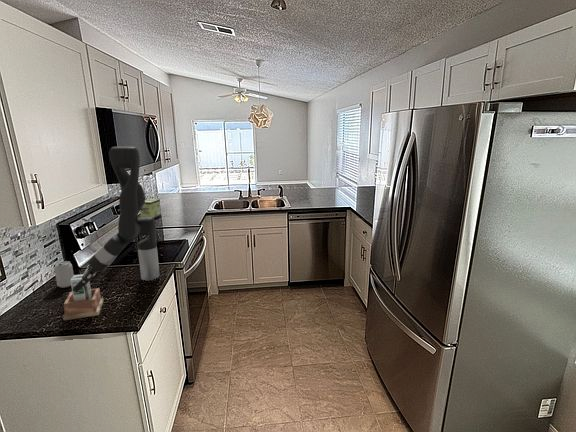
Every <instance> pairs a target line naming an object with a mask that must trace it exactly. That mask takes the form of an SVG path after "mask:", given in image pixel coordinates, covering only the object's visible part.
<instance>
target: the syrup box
mask: <svg viewBox="0 0 576 432" xmlns="http://www.w3.org/2000/svg"><path fill="white" fill-rule="evenodd" d="M83 275H84V273H83V274H74V276H73V277H72V279H71V286H70V287H71V292H73V298H74V301H81V300H88V299H92V294H91V289H92V288H91V282H90V281H91V280H90V281H89V282H88V283H87V284H86V285H85V287H82V288H81V289H80V290H79V291H78V292H75V291H73V288H74V287H75V286H76V285H77V284H78V283H79V281H80V280H81V277H82V276H83ZM84 277H85V276H84ZM82 282H83V283H85V281H82Z"/></svg>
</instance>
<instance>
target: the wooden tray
mask: <svg viewBox="0 0 576 432" xmlns="http://www.w3.org/2000/svg"><path fill="white" fill-rule="evenodd" d="M91 294H92V299H88V300H81V301H74V298H73V292H72V291H70V292H69V294H68V295H67V298H66V299H65V301H64V303H63V309H64V315H63V317H62V319H63V321H69V320H76V319H81V318H82V319H83V318H87V317H88V318H89V317H94V316H99V315H100V313H101V309H102V306H103V304H104V297H101V290H100V287H98V288H91Z"/></svg>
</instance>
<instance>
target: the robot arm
mask: <svg viewBox="0 0 576 432" xmlns="http://www.w3.org/2000/svg"><path fill="white" fill-rule="evenodd" d="M108 154H109V156H108V157H109V161H110V164H111V166H112V169H113V171H114V174H115V176H116V178H117V180H118V184H119V187H120V190H121V191H120V194H119V199H118V200H119V201H118V203H119V218H118V227H117V228H118V232H117V233H116V234H115V235H114V236H112V237H111V238H110V239H108V241H107V242H105V244H104V245H102V247H101V248H99V249H98V250H97V251H96V252H95V253H94V254H93V255H92V256H91V258H90V259H89V260H88V265H89V266H88V267H87V268H86V269H85V270H84V272H83V274H84V275H83V276H82V277H81V280H80V281H79V283H78V284H77V285H76V286H75V287H74V288H73V291H75V292H78V291H79V290H80V289H81V288H82V287H85V285H86V284H87V283H88V282H89V281H91V280H92V279H93V278H94V277H95V275H97V272H100V273H103V272H105V271H106V270H107V268H108V267H109V266H110V265H111V264H112V263H113V262H114V261H115V260H116V258H117V257H118V256H119V255H120V253H122V252H123V250H124V249H125V248H126V247H127V246H128V245H129V244H130V243H131V242H133V241H134V239H136V238H137V237H138V236H148V237H147V238H145V239H142V240H140V241H139V242H138V243H137V252H138V262H139V270H140V271H139V272H140V279H141V280H142V281H144V280H145V281H144V282H151V281H155V280H157V279H159V278H160V277H159V276H160V275H161V274H160V265H159V263H160V262H159V256H158V255H159V254H158V247H157V246H158V245H157V229H156V228H157V227H156V219H154V218H153V217H143V218H141V217H140V216H139V213H140V210H141V208H142V207H143V205H144V203H145V200H146V195H145V194H146V193H145V191H144V187H143V186H142V185H141V184H140V182H139V176H140V175H139V174H140V164H141V163H140V162H141V160H140V152H139V149H138V148H137V147H135V146H112V147H110V149H109V152H108ZM127 169H130V173H128V171H127ZM84 276H85V277H84ZM158 277H159V278H158ZM156 278H157V279H156ZM154 279H155V280H154ZM150 280H151V281H150ZM82 281H85V283H83V282H82Z"/></svg>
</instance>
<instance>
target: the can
mask: <svg viewBox="0 0 576 432" xmlns="http://www.w3.org/2000/svg"><path fill="white" fill-rule="evenodd" d="M73 268H74V267H73V264H72V263H71V261H69V260H68V261H67V260H65V261H59V262H57V263H55V265H54V267H53V269H54V275H55V280H56V281H55V282H56V284H57V287H58V288H69V287H71V279H72V277H73V276H74V275H75V274H74V269H73Z"/></svg>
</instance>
